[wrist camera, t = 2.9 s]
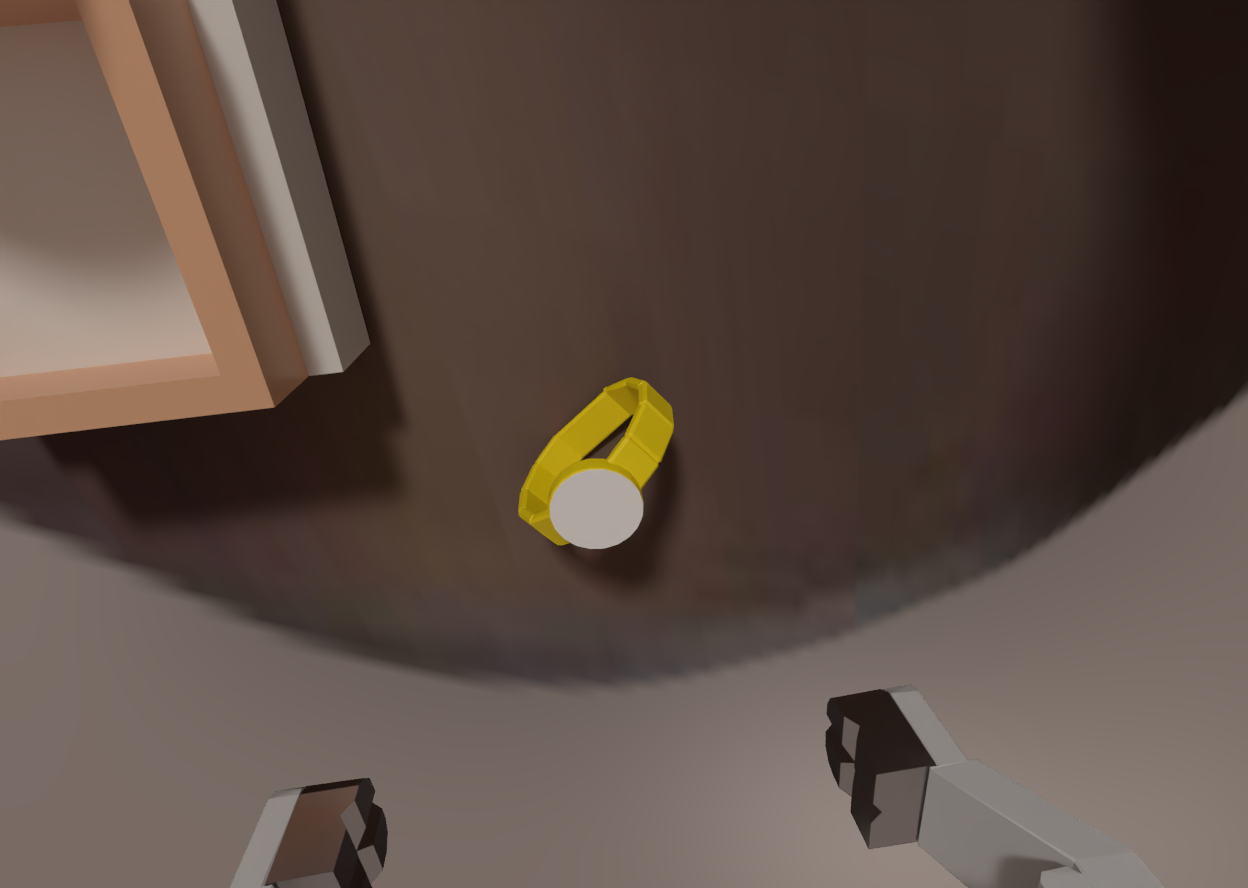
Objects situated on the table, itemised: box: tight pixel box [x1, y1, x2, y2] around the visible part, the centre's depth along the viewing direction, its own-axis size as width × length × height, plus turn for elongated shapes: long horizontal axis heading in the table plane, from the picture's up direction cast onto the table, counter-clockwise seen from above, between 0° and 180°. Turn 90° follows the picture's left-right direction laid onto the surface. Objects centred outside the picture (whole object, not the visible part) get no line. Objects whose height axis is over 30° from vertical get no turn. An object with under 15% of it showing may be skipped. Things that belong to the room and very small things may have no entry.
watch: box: [518, 377, 674, 549], centre depth 21 cm, size 6×3×6 cm, turn 134°
